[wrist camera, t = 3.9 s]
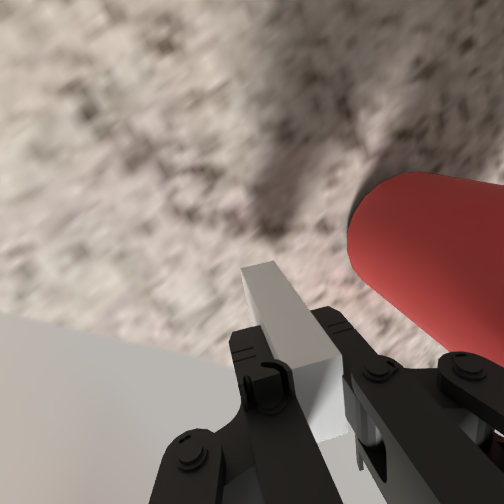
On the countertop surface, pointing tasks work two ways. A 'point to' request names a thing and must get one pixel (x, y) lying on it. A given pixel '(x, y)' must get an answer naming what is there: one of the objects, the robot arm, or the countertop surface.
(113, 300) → the countertop surface
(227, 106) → the countertop surface
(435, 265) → the beer can
